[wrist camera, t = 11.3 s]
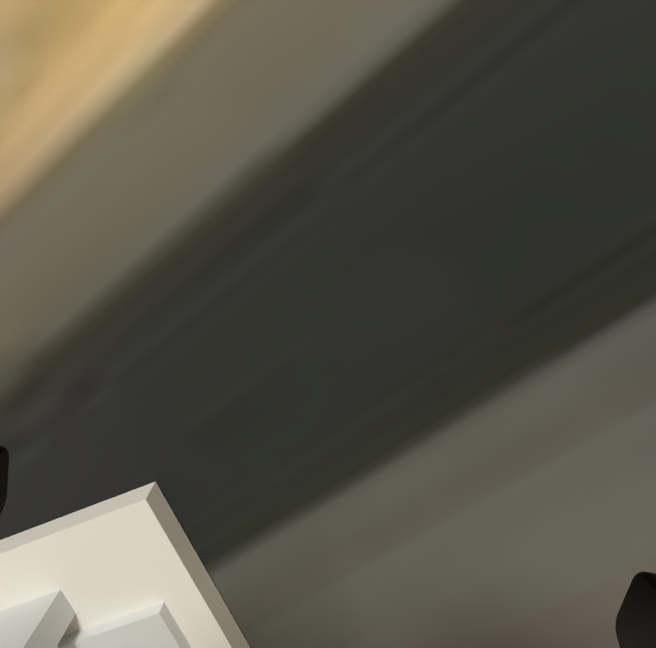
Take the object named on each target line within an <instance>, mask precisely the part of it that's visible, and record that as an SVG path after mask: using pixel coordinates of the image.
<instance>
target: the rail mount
mask: <svg viewBox="0 0 656 648" xmlns="http://www.w3.org/2000/svg"><path fill="white" fill-rule="evenodd" d="M57 646H58V647H59V648H250V646H249V644H248V643H247V641H246V639H245V637H244V636H243V634H242V632H241V630H240V629H239V627H238V625H237V623H236V622H235V620H234V618H233V616H232V615H231V613H230V611H229V609H228V608H227V606H226V604H225V602H224V601H223V599H222V597H221V595H220V594H219V592H218V590H217V588H216V587H215V585H214V583H213V581H212V580H211V578H210V576H209V574H208V573H207V571H206V569H205V567H204V566H203V564H202V562H201V560H200V559H199V557H198V555H197V553H196V552H195V550H194V548H193V546H192V545H191V543H190V541H189V539H188V538H187V536H186V534H185V532H184V531H183V529H182V527H181V525H180V524H179V522H178V520H177V518H176V517H175V515H174V513H173V511H172V510H171V508H170V506H169V504H168V503H167V501H166V499H165V497H164V496H163V494H162V492H161V490H160V489H159V487H158V485H157V483H156V482H153V483H151V484H148V485H145V486H143V487H140V488H137V489H135V490H132V491H129V492H127V493H124V494H121V495H119V496H116V497H113V498H111V499H108V500H105V501H103V502H100V503H98V504H95V505H92V506H90V507H87V508H84V509H82V510H79V511H76V512H74V513H71V514H68V515H66V516H63V517H60V518H58V519H55V520H53V521H50V522H47V523H45V524H42V525H39V526H37V527H34V528H31V529H29V530H26V531H23V532H21V533H18V534H15V535H13V536H10V537H7V538H5V539H2V540H0V648H56V647H57Z"/></svg>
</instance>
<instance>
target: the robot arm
mask: <svg viewBox="0 0 656 648" xmlns="http://www.w3.org/2000/svg"><path fill="white" fill-rule="evenodd" d="M8 466H9V454H8V451H7V449H6V448H5V447H4V446H0V516H1V514H2V512H3V510H4V507H5V504H6V499H7V485H8ZM616 634H617V638H618V642H619V645H620V648H656V574H655V573H649V572H640V573H638V574H636V575H635V576H634V578H633V580H632V582H631V584H630V586H629V589H628V591H627V593H626V596H625V598H624V600H623V603H622V605H621V607H620V610H619V612H618V615H617V618H616Z"/></svg>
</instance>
